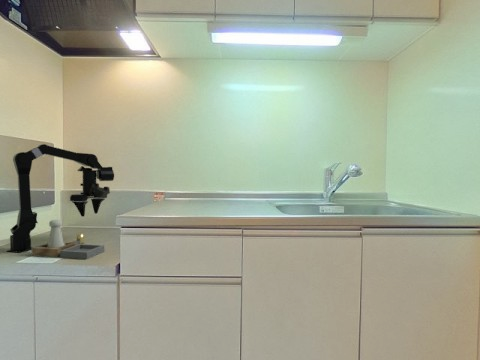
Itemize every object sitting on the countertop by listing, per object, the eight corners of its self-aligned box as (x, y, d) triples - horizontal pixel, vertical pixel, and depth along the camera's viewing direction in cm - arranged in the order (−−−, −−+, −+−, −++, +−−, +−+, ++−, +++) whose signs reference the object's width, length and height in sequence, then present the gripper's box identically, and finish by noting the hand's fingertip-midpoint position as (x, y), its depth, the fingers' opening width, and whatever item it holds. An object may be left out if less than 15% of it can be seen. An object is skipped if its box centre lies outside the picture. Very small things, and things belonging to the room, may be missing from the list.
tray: (60, 257, 115) (60, 250, 115) (79, 249, 126) (79, 243, 126) (86, 259, 113) (86, 252, 113) (104, 251, 124) (104, 245, 124)
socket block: (32, 255, 116) (32, 247, 116) (54, 248, 128) (54, 241, 127) (57, 257, 115) (57, 249, 115) (77, 249, 126) (77, 242, 126)
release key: (65, 247, 128) (65, 237, 128) (79, 242, 137) (79, 233, 137) (71, 248, 128) (71, 237, 128) (85, 243, 137) (85, 233, 137)
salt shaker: (60, 249, 125) (60, 218, 125) (66, 252, 122) (66, 220, 121) (44, 252, 121) (44, 220, 120) (50, 255, 117) (50, 221, 117)
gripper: (92, 182, 130) (92, 218, 130) (117, 180, 148) (117, 212, 149) (69, 181, 132) (69, 217, 132) (96, 180, 150) (96, 211, 150)
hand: (89, 214), depth 141 cm, fingers open, 9 cm apart
